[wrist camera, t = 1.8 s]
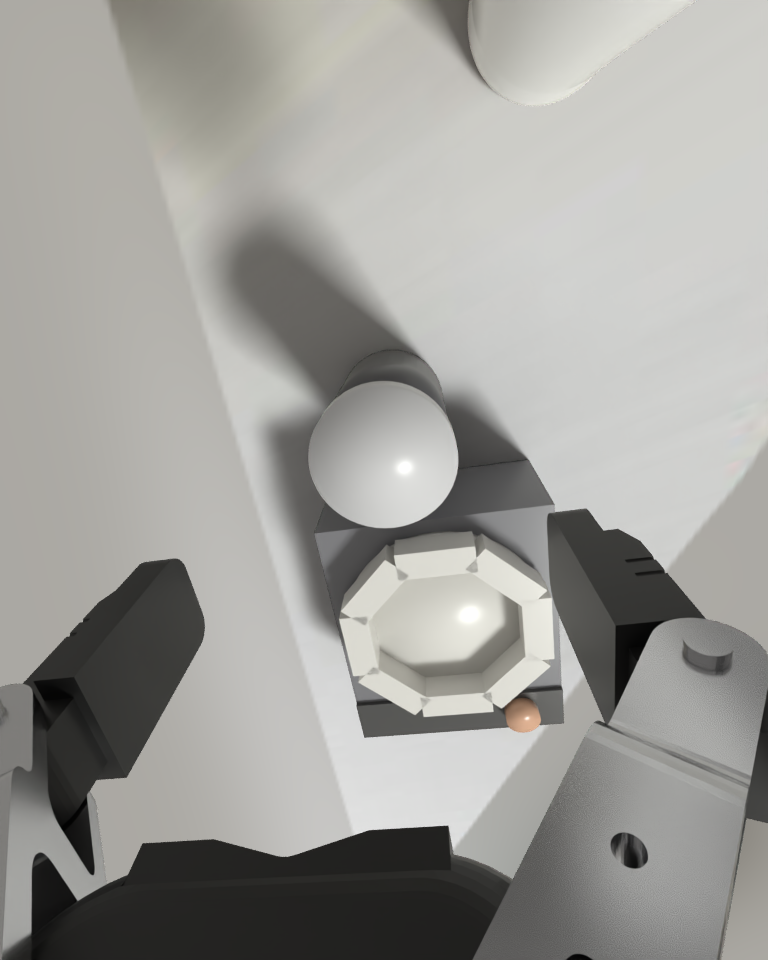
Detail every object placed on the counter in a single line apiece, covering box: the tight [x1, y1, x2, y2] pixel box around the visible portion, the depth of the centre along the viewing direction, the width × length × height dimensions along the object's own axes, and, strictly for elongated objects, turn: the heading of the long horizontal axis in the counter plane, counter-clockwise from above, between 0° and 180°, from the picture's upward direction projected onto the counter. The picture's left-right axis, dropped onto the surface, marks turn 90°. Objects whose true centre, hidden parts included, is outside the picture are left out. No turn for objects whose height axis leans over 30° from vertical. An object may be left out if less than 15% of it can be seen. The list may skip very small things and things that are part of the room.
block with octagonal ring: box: [314, 460, 564, 738], centre depth 25 cm, size 12×10×6 cm
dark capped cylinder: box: [308, 350, 458, 528], centre depth 20 cm, size 5×5×8 cm
